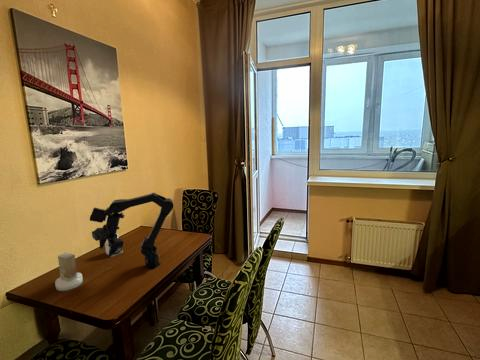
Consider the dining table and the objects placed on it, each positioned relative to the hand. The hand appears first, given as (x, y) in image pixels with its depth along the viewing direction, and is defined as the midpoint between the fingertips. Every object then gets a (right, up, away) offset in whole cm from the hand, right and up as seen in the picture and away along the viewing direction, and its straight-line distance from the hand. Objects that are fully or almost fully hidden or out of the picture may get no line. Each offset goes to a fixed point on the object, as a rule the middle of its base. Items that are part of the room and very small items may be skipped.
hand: (105, 252), depth 133 cm
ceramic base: (-13, -13, -8) cm, 20 cm away
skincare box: (-13, -10, -9) cm, 19 cm away
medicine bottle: (-7, -7, +23) cm, 25 cm away
